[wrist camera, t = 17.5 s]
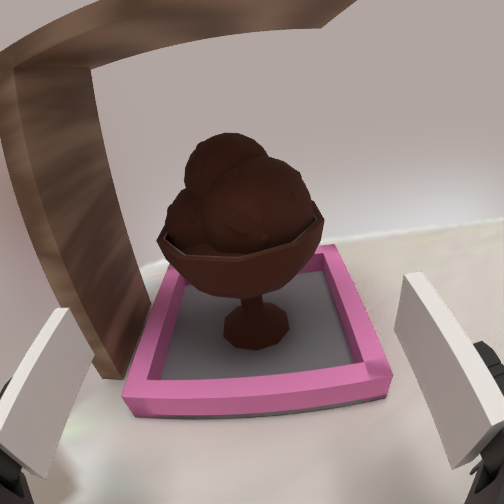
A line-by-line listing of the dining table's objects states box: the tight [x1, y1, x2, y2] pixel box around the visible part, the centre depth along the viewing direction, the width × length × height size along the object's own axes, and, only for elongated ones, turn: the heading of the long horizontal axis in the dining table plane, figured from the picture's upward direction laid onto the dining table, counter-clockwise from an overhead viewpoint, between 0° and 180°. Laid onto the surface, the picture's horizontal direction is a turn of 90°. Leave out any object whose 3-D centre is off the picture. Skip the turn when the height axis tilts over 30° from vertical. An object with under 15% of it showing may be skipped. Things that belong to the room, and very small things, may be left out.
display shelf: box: [0, 0, 357, 380], centre depth 20 cm, size 20×11×24 cm, turn 90°
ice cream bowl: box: [157, 133, 324, 351], centre depth 22 cm, size 11×11×15 cm
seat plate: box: [121, 244, 393, 419], centre depth 25 cm, size 17×17×2 cm
